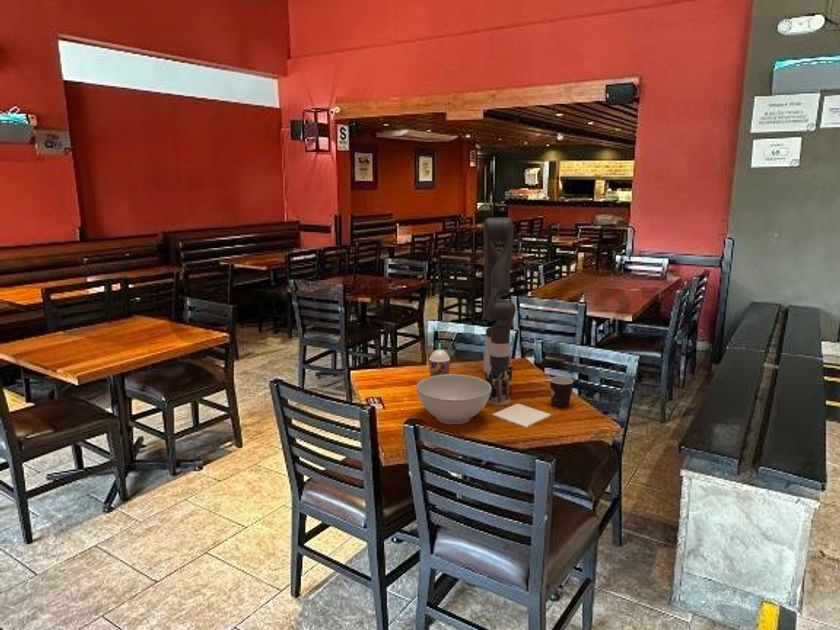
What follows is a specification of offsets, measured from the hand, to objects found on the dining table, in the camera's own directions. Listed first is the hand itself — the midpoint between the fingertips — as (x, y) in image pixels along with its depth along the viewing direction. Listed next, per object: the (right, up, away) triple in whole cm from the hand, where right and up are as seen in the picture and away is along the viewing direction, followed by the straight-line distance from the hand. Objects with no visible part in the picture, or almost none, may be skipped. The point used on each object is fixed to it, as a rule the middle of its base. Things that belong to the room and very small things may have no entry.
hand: (498, 395), depth 228 cm
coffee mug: (+23, -3, -1) cm, 24 cm away
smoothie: (-22, 0, +14) cm, 26 cm away
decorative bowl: (-18, -7, -13) cm, 23 cm away
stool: (0, -3, +1) cm, 3 cm away
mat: (+7, -6, -12) cm, 15 cm away
